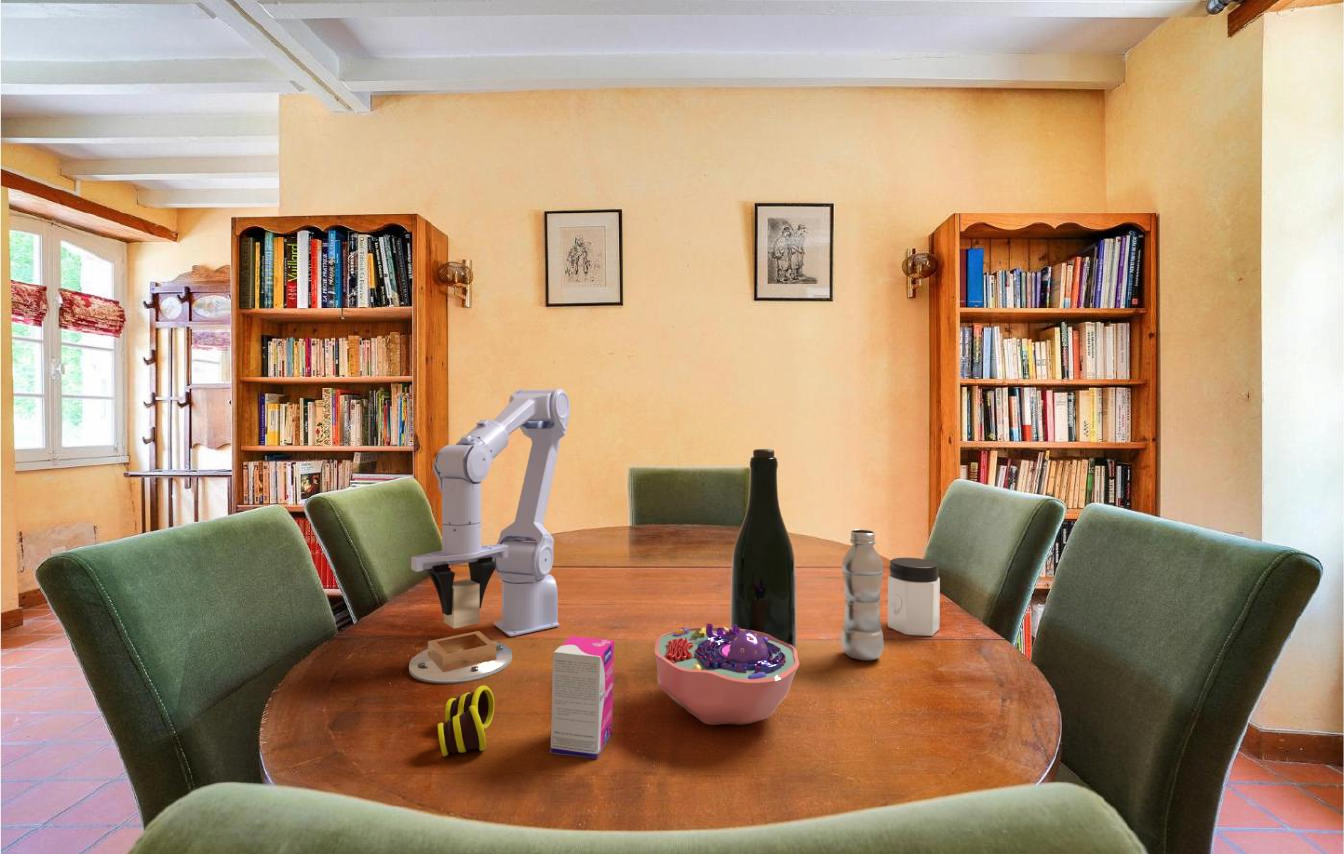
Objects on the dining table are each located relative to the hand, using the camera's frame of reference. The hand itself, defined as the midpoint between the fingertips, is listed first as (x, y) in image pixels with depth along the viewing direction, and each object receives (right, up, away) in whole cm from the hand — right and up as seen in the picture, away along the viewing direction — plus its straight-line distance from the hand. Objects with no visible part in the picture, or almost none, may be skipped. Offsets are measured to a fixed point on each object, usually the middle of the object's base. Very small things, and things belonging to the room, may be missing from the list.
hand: (461, 610), depth 94 cm
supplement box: (+22, -9, -23) cm, 33 cm away
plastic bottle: (+63, -8, +3) cm, 63 cm away
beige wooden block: (0, -2, 0) cm, 2 cm away
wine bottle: (+47, -8, +4) cm, 48 cm away
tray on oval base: (0, -8, 0) cm, 8 cm away
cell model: (+39, -9, -16) cm, 43 cm away
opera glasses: (+8, -9, -22) cm, 25 cm away
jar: (+76, -8, +16) cm, 78 cm away
